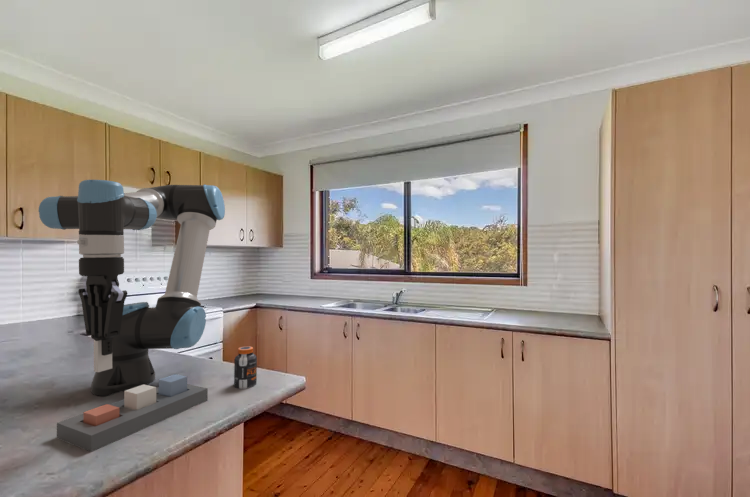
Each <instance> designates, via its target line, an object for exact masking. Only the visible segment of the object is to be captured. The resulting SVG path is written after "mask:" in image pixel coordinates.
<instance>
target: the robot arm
mask: <svg viewBox="0 0 750 497" xmlns="http://www.w3.org/2000/svg"><path fill="white" fill-rule="evenodd" d="M223 196H224V195H223V193H222V191H221V189H220V188H219V187H218V186H216V185H212V184H211V185H210V184H202V185H201V184H167V185H160V186H153V187H146V188H145V187H144V188H141V189H138V190H137V191H135V192H134V191H131V192H125V191H124V186H123V185H122V184H121V183H120V182H117V181H112V180H108V179H107V180H105V179H85V180H82V181H80V182H79V184H78V192H77V195H72V196H66V195H65V196H63V195H58V196H48V197H46V198H44V199H42V201H41V202H40V203H39V205H38V206H39V207H38V215H39V220H40V221H41V222H42V224H43V225H44V226H46V227H48V228H49V229H55V230H56V229H57V230H78V240H77V241H76V243H77V245H78V254H79V255H81V256H82V257H79V259H78V274H79V276H82V277H86V281H85V287H84V288H79V289H78V291H77V292H78V295H79V297H80V302H81V308H82V314H83V321H84V328H85V333H86V335H90V337H91V339H92V340H93V372H94V375H93V378H92V380H91V384H90V392H91V394H92V395H94V396H104V397H107V396H111V395H114V394H117V393H120V392H124V391H126V390H129V389H132V388H135V387H138V386H141V385H149V384H151V383H153V382H154V381H156V372H155V369H154V366H153V364H152V362H151V358H150V356H149V350H165V349H166V350H167V349H171V350H172V349H173V350H179V349H188V348H192V347H194V346H195V345H196V344H197V343H198V342H199V341H200V340H201V338H202V336H203V334H204V331H205V328H206V322H207V319H206V317H207V314H206V311H205V309H204V308H203V307H201V306H202V303H201V301H200V300H199V299H198V293H199V287H200V283H201V282H200V281H201V277H202V273H203V272H202V271H203V266H204V262H205V256H206V251H207V245H208V242H209V235H210V231H211V230H213V229H214V228H215V227H216V225H217V221H221V220H223V219H225V215H226V214H225V213H226V211H225V210H226V208H225V206H226V205H225V201H224V197H223ZM157 219H164V220H165V219H166V220H176V221H177V223H178V224H180V226H179V227H180V228H179V232H178V236H177V240H176V243H175V244H176V245H175V250H174V253H173V257H172V262H171V266H170V269H169V270H170V271H169V273H168V274H169V275H168V279H167V282H166V288H165V292H164V294H163V295H161V296H160V297H158V298H157V300H156V304H155V306H154V307H150V304H149V302H148V301H141V302H140V301H139V302H132V303H127V304H125V301H126V299H127V297H128V291H127V290H121V288H120V287H119V286H120V282H119V280H118V279H119V278H118V276H121V275H123V274H124V273H125V258H124V257H123V256H122V255H123V254H124V253H125V235H124V231H125V230H133V231H141V230H143V231H144V230H147V229H149V228H150V227H152V226H153V225H154V224H155V222H156V220H157Z"/></svg>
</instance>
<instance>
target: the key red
mask: <svg viewBox="0 0 750 497" xmlns="http://www.w3.org/2000/svg"><path fill="white" fill-rule="evenodd" d="M82 414H83V423H86V424H89V425H91V426H94V427H95V426H98V425H100V424H103V423H105V422H108V421H111V420H113V419H116V418H118V417H119V407H115V406H112V405H109V404H108V403H106V404H103V405H100V406H97V407H94V408H92V409H89V410H86V411H84V412H83V413H82Z"/></svg>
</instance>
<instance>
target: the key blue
mask: <svg viewBox="0 0 750 497" xmlns="http://www.w3.org/2000/svg"><path fill="white" fill-rule="evenodd" d="M187 384H188V376H186V375H181V374H178V373H177V374H176V373H174V374H171V375H169V376H166V377H165V376H164V377H162V378H159V379H158V387H159V395H163V396H167V397H172V396H175V395H177V394H180V393H183V392H185V391H187Z"/></svg>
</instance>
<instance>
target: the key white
mask: <svg viewBox="0 0 750 497" xmlns="http://www.w3.org/2000/svg"><path fill="white" fill-rule="evenodd" d="M156 388H157V387H156V386H152V385H149V384H147V385H141V386H138V387H135V388H132V389H129V390H126V391H123V392H124V394H123V395H124V396H123V397H124V398H123V399H124V407H125V408H129V409H132V410H135V411H136V410H139V409H141V408H144V407H147V406H149V405H152V404H154V403H156Z"/></svg>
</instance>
